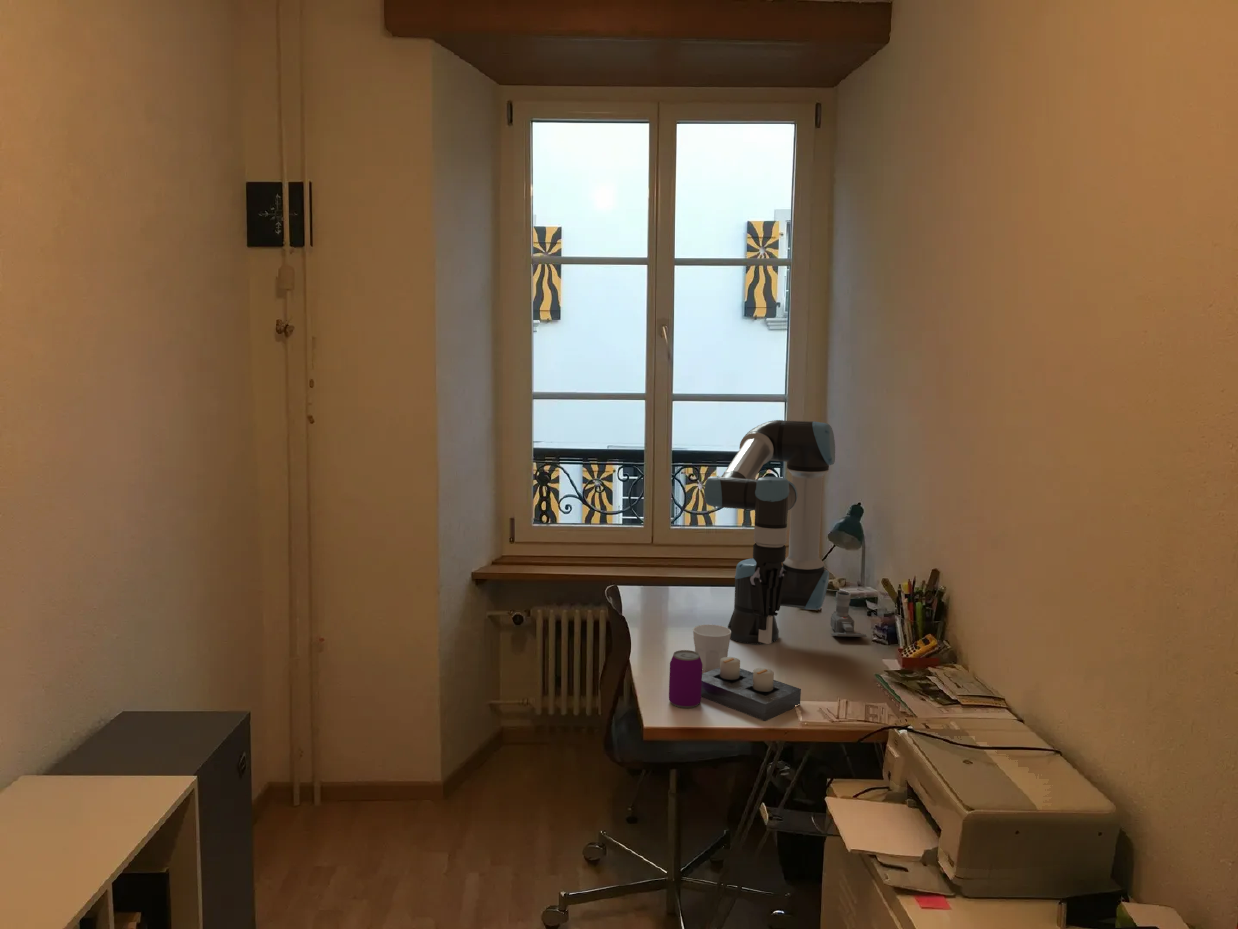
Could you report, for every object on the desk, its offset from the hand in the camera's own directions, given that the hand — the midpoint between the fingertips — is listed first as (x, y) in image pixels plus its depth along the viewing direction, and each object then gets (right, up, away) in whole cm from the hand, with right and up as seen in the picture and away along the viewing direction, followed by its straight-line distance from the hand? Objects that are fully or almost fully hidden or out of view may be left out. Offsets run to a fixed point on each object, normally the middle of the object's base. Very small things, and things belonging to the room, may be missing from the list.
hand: (764, 642), depth 205 cm
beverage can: (-19, -15, +2) cm, 24 cm away
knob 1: (-7, -10, +9) cm, 15 cm away
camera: (+34, -10, +57) cm, 67 cm away
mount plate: (-4, -15, +6) cm, 16 cm away
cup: (-10, -12, +28) cm, 32 cm away
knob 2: (0, -11, +2) cm, 12 cm away
